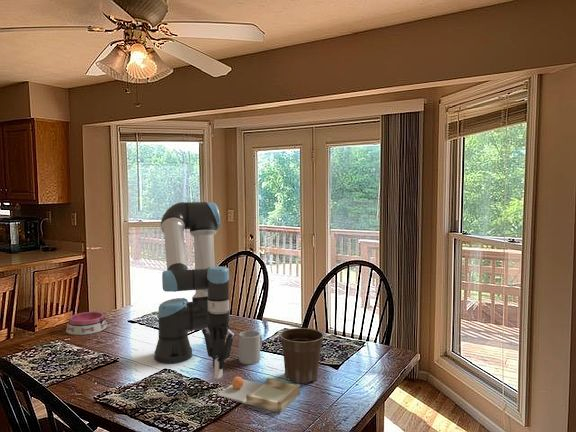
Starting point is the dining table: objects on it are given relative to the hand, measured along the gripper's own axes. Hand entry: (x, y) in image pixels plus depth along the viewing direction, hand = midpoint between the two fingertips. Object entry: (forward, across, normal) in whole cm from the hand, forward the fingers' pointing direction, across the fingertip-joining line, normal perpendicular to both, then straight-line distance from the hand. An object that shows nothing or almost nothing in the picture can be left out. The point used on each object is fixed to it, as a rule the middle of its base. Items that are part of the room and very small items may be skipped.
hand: (218, 377), depth 158 cm
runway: (+3, +16, 0) cm, 17 cm away
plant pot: (+3, +23, +20) cm, 31 cm away
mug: (+3, -2, +26) cm, 27 cm away
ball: (+1, +8, 0) cm, 8 cm away
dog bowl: (+2, -93, +21) cm, 95 cm away
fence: (+3, +22, 0) cm, 22 cm away
